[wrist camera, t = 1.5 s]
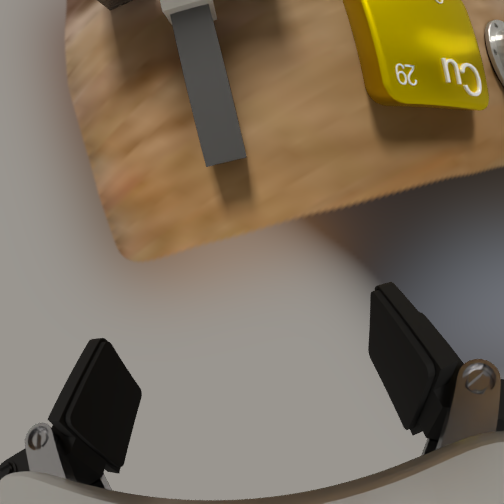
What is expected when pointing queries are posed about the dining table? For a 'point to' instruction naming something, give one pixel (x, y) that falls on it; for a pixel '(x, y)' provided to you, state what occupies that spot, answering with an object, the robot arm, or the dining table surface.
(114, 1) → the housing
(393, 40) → the element tile
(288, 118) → the dining table surface
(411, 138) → the dining table surface
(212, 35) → the grey and white bar
